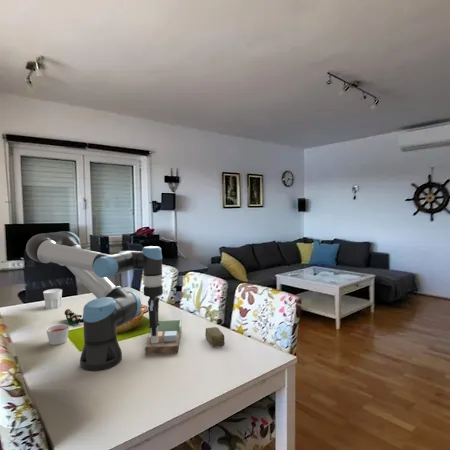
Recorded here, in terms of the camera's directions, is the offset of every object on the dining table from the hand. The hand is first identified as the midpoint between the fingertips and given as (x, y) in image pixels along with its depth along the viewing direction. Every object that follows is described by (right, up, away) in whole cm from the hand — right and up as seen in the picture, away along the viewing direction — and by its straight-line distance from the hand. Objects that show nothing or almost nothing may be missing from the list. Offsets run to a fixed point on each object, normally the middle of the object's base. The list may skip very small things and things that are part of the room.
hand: (154, 342), depth 133 cm
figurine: (-50, -3, +37) cm, 63 cm away
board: (+3, -4, +6) cm, 7 cm away
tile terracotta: (0, -1, +6) cm, 6 cm away
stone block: (+24, -4, +10) cm, 26 cm away
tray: (+2, -3, +18) cm, 18 cm away
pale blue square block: (+5, -1, +6) cm, 8 cm away
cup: (-75, -2, +64) cm, 98 cm away
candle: (-45, -4, +12) cm, 47 cm away
